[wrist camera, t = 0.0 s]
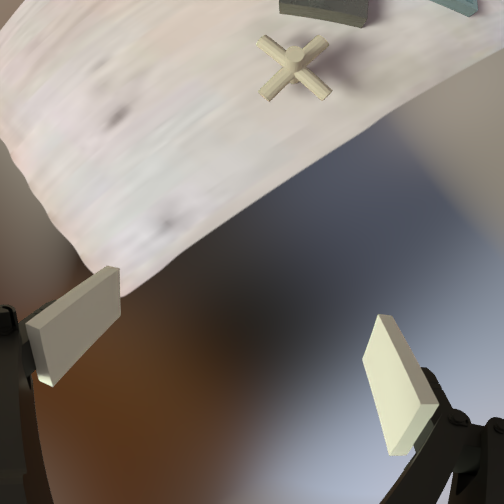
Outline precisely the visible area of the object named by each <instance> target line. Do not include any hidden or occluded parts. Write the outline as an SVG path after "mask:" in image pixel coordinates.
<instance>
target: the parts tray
mask: <svg viewBox="0 0 504 504" xmlns="http://www.w3.org/2000/svg"><path fill="white" fill-rule="evenodd" d="M430 1H433V2H435V3H438V4H440V5H443V6H445V7H447V8H450V9H452V10H454V11H457V12H459V13H461V14H463V15H465V16H467V17H470V16H471V15H472V14H474V13H475V12H477V11H478V4H477V0H430Z"/></svg>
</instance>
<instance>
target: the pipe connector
mask: <svg viewBox="0 0 504 504" xmlns="http://www.w3.org/2000/svg"><path fill="white" fill-rule="evenodd" d="M256 46H258V47H259V48H260V49H261V50H263V51H264V52H265V53H266V54H268V55H269V56H270V57H272V58H273V59H274V60H275V61H276V62H278V63H279V64H280V65H281V66H283V67H282V68H281V69H280V70H279V71H278V72H277V73H276V74H275V75H274V76H273V77H272V78H271V79H270V80H269V81H268V82H267V83H266V84H265V85H264V86H263V87H262V88H261V89H260V90H259V91H258V93H259V94H260V95H261V96H262V97H264V98H265V99H266V100H267V101H269V102H270V101H271V100H272V99H273V98H274V97H275V96H276V95H277V94H278V93H279V92H280V91H281V90H282V89H283V88H284V87H285V86H286V85H287V84H288V83H291V84H296V83H298V82H299V81H300V82H301V83H302V84H304V85H305V86H306V87H307V88H308V89H309V90H310V91H311V92H313V93H314V94H315V95H316V96H317V97H318V98H319V99H320V100H321V101H323V100H324V99H325V98H326V97H327V96H328V95H329V94H330V93H331V92H332V91H333V90H331V89H330V88H329V87H328V86H327V85H326V84H325V83H324V82H323V81H322V80H321V79H319V78H318V77H317V76H316V75H315V74H314V73H313V72H311V71H310V70H309V69H308V68H307V67H306V66H307V65H308V64H309V63H311V62H312V61H313V60H314V59H315V58H316V57H317V56H318V55H319V54H320V53H321V52H323V51H324V50H325V49H326V48H327V47H328V46H329V43H328V42H327V40H326V39H325V38H323V37H322V36H320V35H318V36H316V37H315V38H314V39H313V40H312V41H311V42H310V43H308V44H307V45H306V46H305V47H304V48H303V49H301V48H300V47H297V46H292V47H289V48H288V49H287V50H285V49H284V48H283V47H281V46H280V45H279V44H277V43H276V42H275V41H274V40H272V39H271V38H270V37H268V36H267V35H264V36H263V37H261V38H260V39H259V40H258V42H257V44H256Z"/></svg>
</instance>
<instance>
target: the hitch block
mask: <svg viewBox="0 0 504 504" xmlns="http://www.w3.org/2000/svg"><path fill="white" fill-rule="evenodd" d="M279 11H280V14H287V15H295V16H302V17H308V18H314V19H320V20H326V21H331V22H336V23H341V24H345V25H350V26H354V27H359V28H362V27H363V25H364V23H365V22H366V20H367V14H368V0H279Z"/></svg>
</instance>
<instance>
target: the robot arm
mask: <svg viewBox="0 0 504 504" xmlns="http://www.w3.org/2000/svg"><path fill="white" fill-rule="evenodd" d="M120 315H121V312H120V268H115V267H111V266H106V267H104V268H103V269H101V270H100V271H98V272H97V273H96V274H94V275H93V276H91V277H90V278H88V279H87V280H85V281H84V282H82V283H81V284H80V285H78V286H77V287H75V288H74V289H72V290H71V291H69V292H68V293H67V294H65V295H64V296H63V297H61V298H60V299H58V300H54V301H51V302H48V303H46V304H44V305H43V306H41V307H40V308H39V309H37V310H36V311H34V313H31V314H30V315H29V316H28V317H26V318H24V319H23V320H22V321H20V322H19V323H18V321H17V315H16V311H15V308H14V307H12V306H10V305H0V504H54V503H53V499H52V495H51V491H50V487H49V483H48V479H47V475H46V470H45V466H44V461H43V456H42V450H41V445H40V440H39V433H38V426H37V418H36V410H35V401H34V390H33V380H32V376H31V374H32V373H33V372H34V370H36V371H37V375H38V378H39V381H41V382H44V383H46V384H48V385H50V386H54V385H55V384H56V383H57V382H58V381H59V379H60V378H61V377H62V376H63V375H64V374H65V373H66V372H67V371H68V370H69V369H70V367H72V365H73V364H74V363H75V362H76V361H77V360H78V359H79V358H80V357H81V356H82V355H83V354H84V353H85V352H86V351H87V349H89V347H90V346H91V345H92V344H93V343H94V342H95V341H96V340H97V339H98V338H99V337H100V336H101V335H102V334H103V333H104V332H105V331H106V330H107V328H109V327H110V326H111V325H112V324H113V322H115V320H116V319H117V318H118V317H119V316H120ZM362 360H363V363H364V367H365V370H366V373H367V377H368V380H369V383H370V387H371V390H372V394H373V397H374V401H375V404H376V408H377V411H378V415H379V419H380V422H381V426H382V430H383V433H384V437H385V441H386V445H387V449H388V453H389V456H399V455H407V454H408V452H409V451H410V450H411V448H412V446H413V445H414V448H415V451H416V454H415V455H414V456H413V458H412V459H411V460H410V462H409V463H408V464H407V466H406V467H405V469H404V471H403V472H402V474H401V475H400V477H399V478H398V480H397V481H396V482H395V484H394V485H393V487H392V488H391V489H390V491H389V492H388V493H387V494H386V496H385V497H384V499H383V500H382V501H381V502H380V504H436V502H437V501H438V499H439V497H440V495H441V493H442V491H443V489H444V487H445V485H446V483H447V481H448V479H449V477H450V475H451V473H452V472H453V478H452V484H451V490H450V495H449V501H448V504H504V419H501V418H498V417H493V418H491V419H490V420H488V422H487V423H486V425H485V426H481V425H475V424H471V421H470V419H469V417H468V416H467V415H466V414H465V413H464V412H462V411H460V410H457V409H453V408H452V407H451V404H450V403H449V401H448V399H447V397H446V395H445V393H444V391H443V390H442V388H441V386H440V384H438V383H439V382H438V380H437V379H436V377H435V375H434V374H433V373H432V372H431V371H430V370H429V369H428V368H424V367H420V365H419V364H418V362H417V360H416V358H415V357H414V354H413V353H412V351H411V349H410V347H409V345H408V344H407V342H406V340H405V338H404V336H403V335H402V333H401V331H400V329H399V327H398V326H397V324H396V322H395V320H394V319H393V317H392V316H389V315H382V314H378V316H377V320H376V322H375V325H374V328H373V331H372V334H371V337H370V340H369V343H368V345H367V348H366V351H365V354H364V357H363V359H362Z"/></svg>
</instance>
